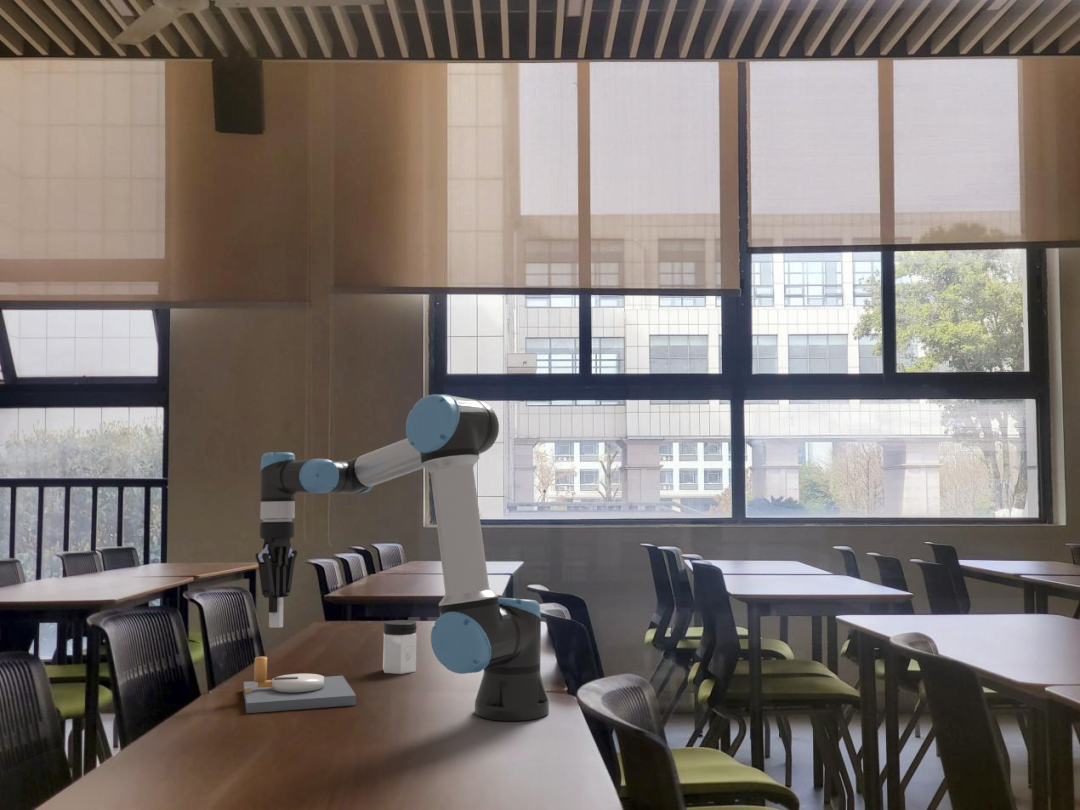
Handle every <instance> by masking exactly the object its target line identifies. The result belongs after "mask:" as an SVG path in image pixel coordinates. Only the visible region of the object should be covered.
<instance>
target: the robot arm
mask: <svg viewBox="0 0 1080 810" xmlns="http://www.w3.org/2000/svg"><path fill="white" fill-rule="evenodd" d="M499 433H500V424H499V418H498V416H497V414H496V412H495V411H494V410H493V408H492V407H491V406H490V405H489V404H487V403H486V402H483V401H481V400H479V399H474V398H468V397H460V396H453V395H450V394H447V393H442V394H433V393H432V394H428V395H425V396H424V397H421V398H420V399H418V401H416V402H415V404H414V405H413V407H412V409H411V410H410V411H409V413H408V415H407V417H406V423H405V434H406V438H404V439H401V440H398V441H396V442H393V443H391V444H389V445H385V446H383V447H381V448H377V449H375V450H373V451H370V452H367V453H365V454H362V455H360V456H357V457H355V458H351V459H349V460H332V459H331V460H330V459H328V458H318V457H317V458H312V459H311V458H310V459H301V460H300V459H298V460H296V454H294V453H293V452H289V451H288V452H287V451H283V452H282V451H279V452H270V451H269V452H265V453H263V455H262V456H261V462H260V470H259V471H260V472H259V473H260V510H259V511H260V512H259V513H260V515H259V517H260V520H262V522H260V523H259V537H260V539H263V545H262V551H261V552H257V553H255V560H256V562H257V564H258V565H257V566H258V573H259V580H260V581H259V582H260V589H261V595H262V596H264V598H266V599H267V598H268V628H274V629H275V628H279V629H280V628H283V627H284V610H285V607H284V606H285V597H286V598H287V597H289V594H290V592H291V589H292V582H293V575H294V570H295V569H294V568H295V561H296V558H297V556H298V551H297V549H295V550H293V549H292V544H291V539H293V538H294V537H295V522H294V521H293V520H294V519H295V518H296V512H295V511H296V509H295V508H296V507H295V506H296V505H295V504H296V502H295V500H296V499H295V497H296V496H295V495H296V494H297V495H298V494H301V495H302V494H307V495H308V494H315V495H317V494H321V495H322V494H351V495H359V494H366V493H368V492H370V491H372V489H373V487H374V486H376V485H379V484H382V483H385V482H388V481H391V480H394V479H395V478H398V477H402V476H405V475H407V474H408V475H409V474H410V473H413V472H416V471H419V470H422V469H426V470H427V472H429V473H430V481H431V488H432V497H433V505H434V513H435V521H436V522H435V523H436V529H437V535H438V545H439V553H440V562H441V569H442V570H441V571H442V575H443V576H442V577H443V585H444V596H443V597H442V599H441V600H440V601H439V603H438V609H439V617H438V618H437V619H436V620H435V622H434V626H433V627H432V628H431V631H430V644H431V645H430V646H431V648H432V651H433V653H434V655H435V657H436V659H437V661H438V662H439V663H440V665H442V666H444V667H445V669H446V670H448V671H450V672H452V673H455V674H459V675H461V674H462V675H465V674H466V675H467V674H472V673H474V674H475V673H479V672H481V671H483V673H482V674H483V675H482V679H481V681H480V685H479V688H478V690H477V693H476V697H475V701H474V714H475V715H476V716H477V717H479V718H483V719H487V720H493V721H499V722H500V721H502V722H503V721H504V722H520V721H522V722H523V721H530V720H531V721H532V720H537V719H540V718H543V717H546V716H547V715H548V714H549V713H550V702H549V698H548V694H547V691H546V687H545V685H544V682H543V678H542V674H541V651H542V649H541V647H542V646H541V640H542V637H541V635H542V633H541V631H542V629H541V628H542V627H541V626H542V616H541V615H542V614H541V605H540V603H539V601H537V600H535V599H525V598H523V599H522V598H511V597H499V595H498V593H496V592H495V591H493V590H492V589H491V588H490V585H489V577H488V571H487V562H486V555H485V554H486V553H485V546H484V540H483V531H482V524H481V518H480V517H481V516H480V509H479V500H478V494H477V485H476V478H475V471H474V466H475V465H476V463H477V462H478V461H479V460H480V455H481V454H483V453H485V452H487V451H488V450H490V449H491V448H492V447H493V446H494V444H495V442H496V441H497V438H499V437H498V435H499Z"/></svg>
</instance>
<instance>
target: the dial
mask: <svg viewBox="0 0 1080 810" xmlns="http://www.w3.org/2000/svg"><path fill="white" fill-rule="evenodd" d="M253 670H254V671H253V681H254V682H258V688H262V687H272V690H274V691H278V692H307V691H314V690H318V689H321V688H323V687H324V677H325V676H324V675H321V674H318V673H291V674H283V675H279V676H276V677H273V678H272V679H267V678H268V677H267V676H268V673H267V672H268V657H267V656H256V657H254V668H253Z"/></svg>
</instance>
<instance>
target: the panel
mask: <svg viewBox="0 0 1080 810" xmlns="http://www.w3.org/2000/svg"><path fill="white" fill-rule="evenodd" d="M242 684H243V690H242V692H243V697H244V698H243V700H244V707H245V712H246V714H253V713H254V714H255V713H268V712H270V713H271V712H282V711H294V710H295V711H296V710H307V709H308V710H309V709H321V708H322V709H324V708H333V707H345V706H346V707H350V706H356V705H357V695H356V693H355V691H354V690H353V689H352V687H351V685H350V684H349V683H348V681H347V680H346V678H345V677H344V676H343V675H333V676H324V687H323V688H321V689H318V690H314V691H307V692H278V691H274V690H272V687H262V688H258V682H254V680H253V681H243V683H242Z"/></svg>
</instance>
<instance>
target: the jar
mask: <svg viewBox="0 0 1080 810" xmlns="http://www.w3.org/2000/svg"><path fill="white" fill-rule="evenodd" d="M417 628H418V627H417V621H415V620H408V619H407V620H405V619H399V620H398V619H395V620H388V621H384V622H383V640H382V641H383V644H382V645H383V648H382V651H383V652H382V670H383V673H384V674H392V675H394V674H395V675H403V674H408V673H415V672H416V671H417Z"/></svg>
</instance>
